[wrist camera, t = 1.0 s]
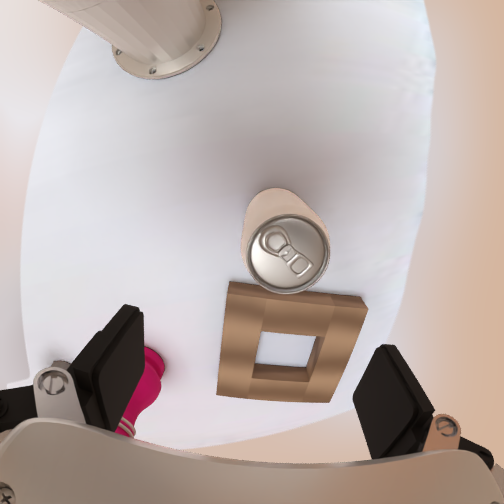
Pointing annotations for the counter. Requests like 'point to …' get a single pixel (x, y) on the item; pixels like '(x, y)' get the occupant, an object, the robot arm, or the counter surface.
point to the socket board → (288, 322)
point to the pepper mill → (143, 393)
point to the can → (284, 242)
